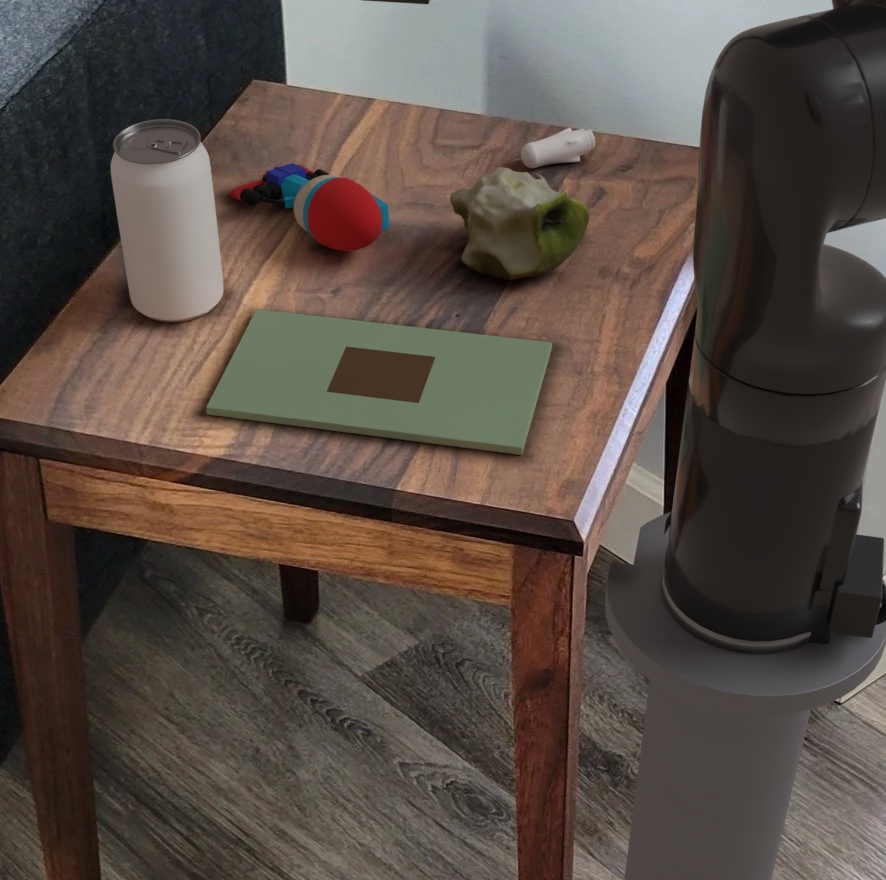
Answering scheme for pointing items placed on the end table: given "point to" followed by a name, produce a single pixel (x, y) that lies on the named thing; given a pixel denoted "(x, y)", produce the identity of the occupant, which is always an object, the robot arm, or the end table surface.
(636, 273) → the end table surface
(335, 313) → the end table surface
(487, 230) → the fruit
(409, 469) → the end table surface
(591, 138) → the small white plastic part
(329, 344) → the mat
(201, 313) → the can
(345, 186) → the toy figure
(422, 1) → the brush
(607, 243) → the end table surface
